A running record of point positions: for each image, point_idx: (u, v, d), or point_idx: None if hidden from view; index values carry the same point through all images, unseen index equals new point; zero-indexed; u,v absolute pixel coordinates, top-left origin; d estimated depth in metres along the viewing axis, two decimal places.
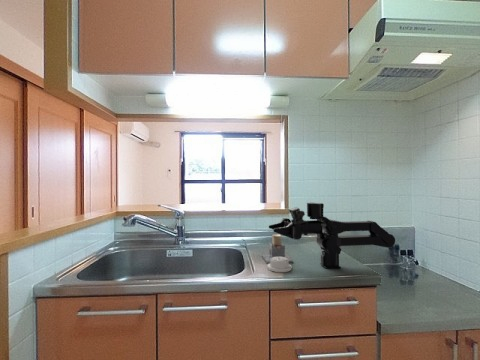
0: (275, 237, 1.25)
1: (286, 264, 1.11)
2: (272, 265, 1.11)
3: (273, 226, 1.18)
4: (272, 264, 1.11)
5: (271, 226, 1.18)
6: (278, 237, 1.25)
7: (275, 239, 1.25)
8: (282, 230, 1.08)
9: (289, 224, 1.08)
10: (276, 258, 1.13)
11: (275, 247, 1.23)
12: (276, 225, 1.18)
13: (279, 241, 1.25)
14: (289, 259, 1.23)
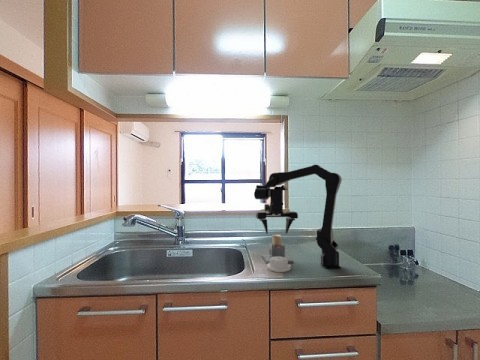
0: (275, 237, 1.25)
1: (285, 264, 1.11)
2: (271, 265, 1.11)
3: None
4: (271, 264, 1.11)
5: None
6: (278, 237, 1.25)
7: (275, 239, 1.25)
8: (264, 226, 1.26)
9: None
10: (275, 258, 1.13)
11: (275, 247, 1.23)
12: (286, 226, 1.27)
13: (279, 241, 1.25)
14: (289, 259, 1.23)
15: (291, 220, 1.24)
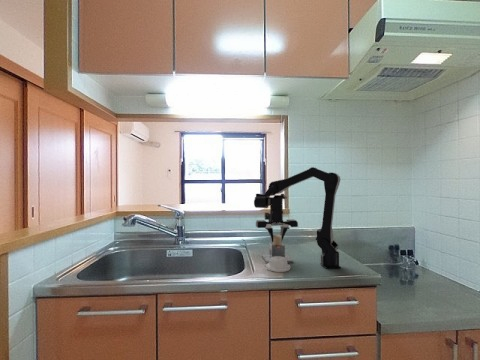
0: (275, 237, 1.25)
1: (285, 264, 1.11)
2: (271, 265, 1.11)
3: None
4: (271, 264, 1.12)
5: None
6: (278, 237, 1.25)
7: (275, 239, 1.25)
8: (270, 235, 1.26)
9: None
10: (275, 258, 1.14)
11: (275, 247, 1.23)
12: (281, 234, 1.27)
13: (279, 241, 1.25)
14: (289, 259, 1.23)
15: (285, 229, 1.24)
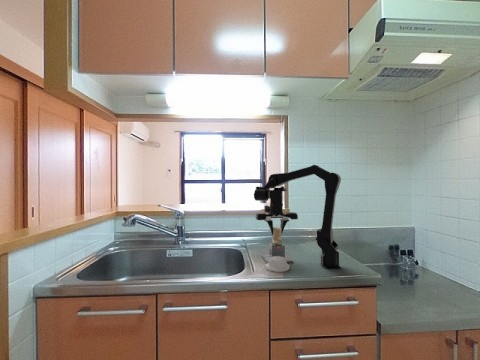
0: (275, 230, 1.25)
1: (284, 264, 1.11)
2: (270, 265, 1.12)
3: None
4: (270, 264, 1.12)
5: None
6: (278, 229, 1.25)
7: (275, 232, 1.25)
8: (270, 227, 1.26)
9: None
10: (274, 258, 1.14)
11: (275, 247, 1.23)
12: (281, 227, 1.27)
13: (279, 233, 1.25)
14: (289, 259, 1.23)
15: (285, 221, 1.24)
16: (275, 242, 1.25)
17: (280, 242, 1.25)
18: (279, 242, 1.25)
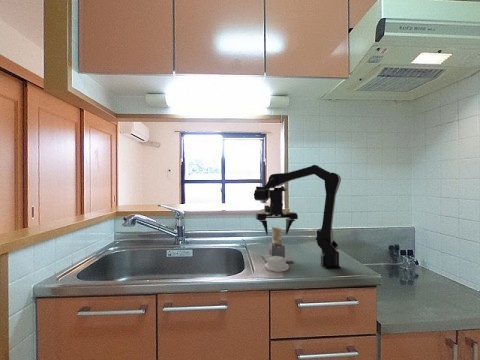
0: (275, 230, 1.25)
1: (283, 264, 1.11)
2: (269, 265, 1.12)
3: None
4: (269, 264, 1.12)
5: None
6: (278, 229, 1.25)
7: (275, 232, 1.25)
8: (264, 227, 1.26)
9: None
10: (273, 258, 1.14)
11: (275, 247, 1.23)
12: (286, 226, 1.27)
13: (279, 233, 1.25)
14: (289, 259, 1.23)
15: (291, 221, 1.24)
16: (275, 242, 1.25)
17: (280, 242, 1.25)
18: (279, 242, 1.25)
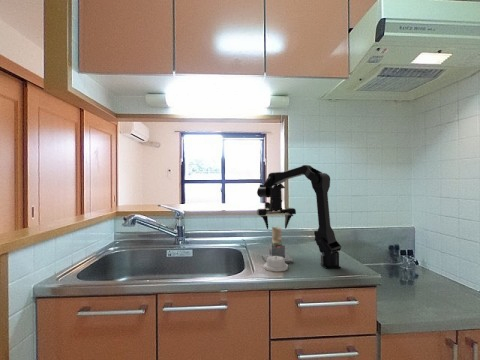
0: (275, 230, 1.25)
1: (282, 263, 1.11)
2: (268, 264, 1.12)
3: (285, 224, 1.37)
4: (268, 263, 1.12)
5: (285, 226, 1.37)
6: (278, 229, 1.25)
7: (275, 232, 1.25)
8: (265, 222, 1.36)
9: None
10: (272, 257, 1.14)
11: (275, 247, 1.23)
12: (285, 221, 1.38)
13: (279, 233, 1.25)
14: (289, 259, 1.23)
15: (290, 216, 1.35)
16: (275, 242, 1.25)
17: (280, 242, 1.25)
18: (279, 242, 1.25)
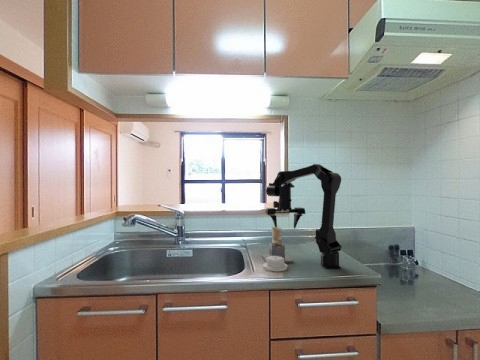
0: (275, 230, 1.25)
1: (282, 263, 1.11)
2: (268, 264, 1.12)
3: (294, 224, 1.35)
4: (268, 263, 1.12)
5: None
6: (278, 229, 1.25)
7: (275, 232, 1.25)
8: (273, 222, 1.34)
9: (272, 215, 1.36)
10: (272, 257, 1.14)
11: (275, 247, 1.23)
12: (294, 221, 1.35)
13: (279, 233, 1.25)
14: (289, 259, 1.23)
15: (299, 215, 1.32)
16: (275, 242, 1.25)
17: (280, 242, 1.25)
18: (279, 242, 1.25)
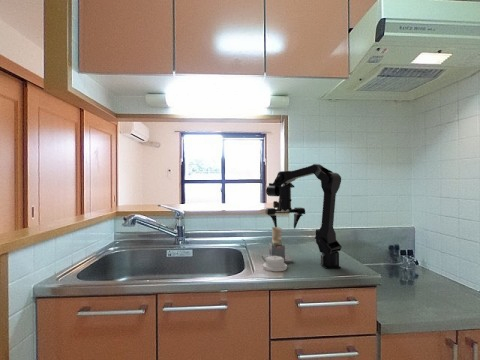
0: (275, 230, 1.25)
1: (281, 263, 1.12)
2: (268, 264, 1.12)
3: (294, 224, 1.35)
4: (268, 263, 1.12)
5: None
6: (278, 229, 1.25)
7: (275, 232, 1.25)
8: (273, 222, 1.34)
9: (272, 215, 1.36)
10: (272, 257, 1.14)
11: (275, 247, 1.23)
12: (294, 221, 1.35)
13: (279, 233, 1.25)
14: (289, 259, 1.23)
15: (299, 215, 1.32)
16: (275, 242, 1.25)
17: (280, 242, 1.25)
18: (279, 242, 1.25)
